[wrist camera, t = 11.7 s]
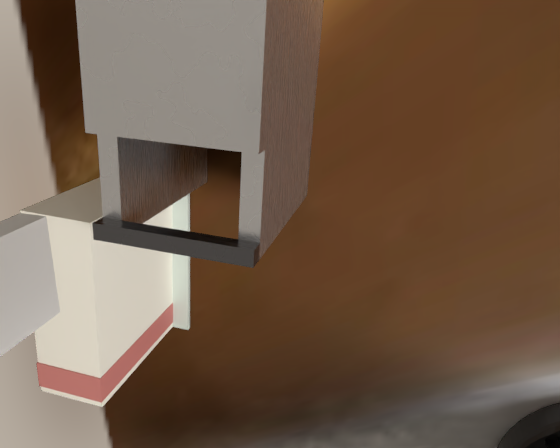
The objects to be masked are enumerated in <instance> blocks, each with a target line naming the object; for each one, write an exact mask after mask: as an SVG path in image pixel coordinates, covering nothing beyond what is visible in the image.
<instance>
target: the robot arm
mask: <svg viewBox="0 0 560 448" xmlns="http://www.w3.org/2000/svg"><path fill="white" fill-rule="evenodd" d="M59 313H60V307H59V300H58V293H57V286H56V280H55V273H54V266H53V259H52V252H51V245H50V239H49V232H48V225H47V218H46V216H40V215H32V214H24V213H20V214H17V215H15V216H12V217H10V218H8V219H5V220H3V221H1V222H0V357H1V356H2V355H3V354H5V353H6V352H7V351H9V350H10V349H11V348H13V347H14V346H15V345H17V344H18V343H19V342H21V341H22V340H24V339H25V338H26V337H28V336H29V335H30V334H32V333H33V332H34V331H36V330H37V329H38V328H40V327H41V326H42V325H44V324H45V323H46V322H48V321H49V320H50V319H52V318H53V317H55V316H56V315H57V314H59ZM498 448H560V403H559V404H555V405H551V406H548V407H546V408H543V409H540V410H538V411H536V412H534V413H532V414H530V415H528V416H527V417H525V418H523V419H522V420H521V421H519V422H518V423H517V424H516V425H514V426H513V427H512V428H511V429H510V430H509V431H508V432H507V434H506V435H505V436H504V437H503V439H502V440H501V442H500V444H499V446H498Z"/></svg>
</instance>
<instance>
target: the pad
mask: <svg viewBox="0 0 560 448" xmlns="http://www.w3.org/2000/svg"><path fill="white" fill-rule="evenodd" d="M172 229H177V230H183V231H190V193H189V194H188V195H186V196H185V197H183V198H181V199H180V200H178V201H177V202H175V203H174V204H172ZM172 287H173V327H176V328H181V329H186V330H189V328H190V257H189V256H184V255H178V254H172Z"/></svg>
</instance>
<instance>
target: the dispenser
mask: <svg viewBox="0 0 560 448" xmlns="http://www.w3.org/2000/svg"><path fill="white" fill-rule="evenodd" d="M75 2H76V16H77V29H78V42H79V55H80V68H81V81H82V94H83V108H84V121H85V133H91V134H97V139H98V154H99V169H100V183H101V198H102V213H103V217H102V218H101V219H99V220H97V221H95V222H93V223H92V226H93V239H94V240H99V241H104V242H110V243H116V244H121V245H127V246H133V247H138V248H144V249H150V250H155V251H161V252H167V253H172V254H178V255H184V256H189V257H195V258H201V259H207V260H212V261H218V262H224V263H229V264H235V265H241V266H246V267H252V268H254V266H255V265H256V263H257V262H258V261H259V259H260V258H261V257H262V255H263V254H264V253H265V251H266V250H267V249H268V247H269V246H270V245H271V243H272V242H273V241H274V239H275V238H276V237H277V235H278V234H279V232H280V231H281V230H282V228H283V227H284V226H285V224H286V223H287V222H288V220H289V219H290V218H291V216H292V215H293V214H294V212H295V211H296V210H297V208H298V207H299V206H300V204H301V203H302V201H303V200H304V199H305V197H306V196H307V187H308V175H309V164H310V152H311V141H312V129H313V118H314V106H315V95H316V83H317V72H318V60H319V49H320V38H321V26H322V15H323V3H324V0H75ZM208 148H212V149H221V150H229V151H237V152H242V158H241V185H240V212H239V239H232V238H226V237H220V236H214V235H208V234H202V233H196V232H190V231H183V230H177V229H171V228H165V227H159V226H153V225H147V224H143V223H144V222H146V221H147V220H149V219H151V218H152V217H154V216H155V215H157V214H158V213H160V212H161V211H163V210H164V209H166V208H168V207H169V206H171V205H172V204H174V203H175V202H177V201H178V200H180V199H181V198H183V197H185V196H186V195H188V194H189V193H191V192H192V191H194V190H195V189H197V188H199V187H200V186H202V185H203V184H205V183H206V182H207V151H208Z"/></svg>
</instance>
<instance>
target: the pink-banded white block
mask: <svg viewBox="0 0 560 448" xmlns="http://www.w3.org/2000/svg"><path fill="white" fill-rule="evenodd" d="M20 213H24V214H32V215H40V216H46V218H47V225H48V232H49V239H50V245H51V252H52V259H53V266H54V273H55V280H56V286H57V293H58V300H59V307H60V313H59V314H57V315H56V316H55V317H53V318H52V319H50V320H49V321H48V322H46V323H45V324H44V325H42V326H41V327H40V328H38V329H37V330H36V331H34V332H35V341H36V348H37V357H38V362H37V370H38V380H39V386H41V391H44V392H48V393H52V394H56V395H59V396H63V397H66V398H70V399H74V400H78V401H81V402H85V403H89V404H93V405H96V406H100V407H103V406H104V405H105V404H106V402H107V401H108V400H109V399H110V398H111V397H112V395H113V394H114V393H115V392H116V391H117V390H118V389H119V387H120V386H121V385H122V384H123V383H124V382H125V381H126V379H127V378H128V377H129V376H130V375H131V374H132V373H133V371H134V370H135V369H136V368H137V367H138V366H139V365H140V363H141V362H142V361H143V360H144V359H145V358H146V357H147V355H148V354H149V353H150V352H151V351H152V350H153V349H154V347H155V346H156V345H157V344H158V343H159V342H160V341H161V339H162V338H163V337H164V336H165V335H166V334H167V333H168V331H169V330H170V329H171V328H172V327H173V287H172V253H167V252H161V251H155V250H150V249H144V248H138V247H133V246H127V245H121V244H116V243H110V242H104V241H99V240H94V239H93V226H92V223H93V222H95V221H97V220H99V219H101V218H102V217H103V213H102V198H101V183H100V177H99V178H97V179H94V180H92V181H90V182H87V183H85V184H82V185H80V186H78V187H75V188H73V189H70V190H68V191H65V192H63V193H61V194H58V195H56V196H53V197H51V198H49V199H46V200H44V201H41V202H39V203H36V204H34V205H32V206H29V207H27V208H24V209H22V210H20ZM143 224H147V225H153V226H159V227H165V228H171V229H172V205H171V206H169V207H168V208H166V209H164V210H163V211H161V212H160V213H158V214H157V215H155V216H154V217H152V218H151V219H149V220H147V221H146V222H144V223H143Z"/></svg>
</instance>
